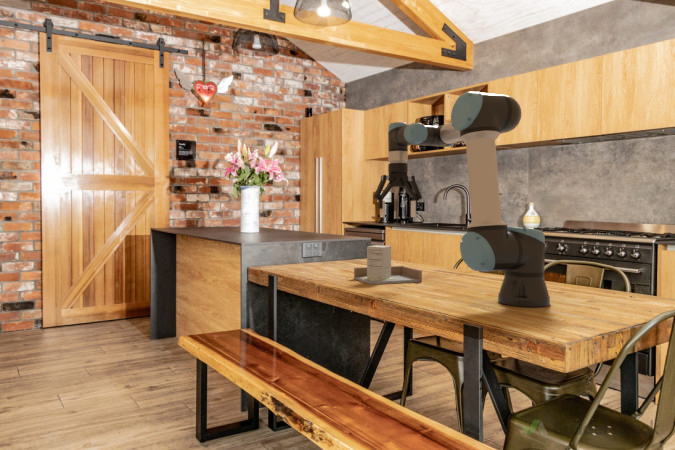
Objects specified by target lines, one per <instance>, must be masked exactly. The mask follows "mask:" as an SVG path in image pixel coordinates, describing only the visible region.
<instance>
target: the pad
mask: <svg viewBox="0 0 675 450" xmlns="http://www.w3.org/2000/svg"><path fill="white" fill-rule="evenodd" d="M362 278H365V279H368V280H371V281H376V280H382V279H370V278H367V277H362ZM383 280H395V279H394V278H386V279H383Z"/></svg>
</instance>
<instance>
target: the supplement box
mask: <svg viewBox="0 0 675 450" xmlns="http://www.w3.org/2000/svg"><path fill="white" fill-rule="evenodd" d="M391 266H392V246H391V245H369V246H366V267H367V278H370V279H382V280H383V279H386V278H390V277H391Z"/></svg>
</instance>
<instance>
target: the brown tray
mask: <svg viewBox="0 0 675 450" xmlns="http://www.w3.org/2000/svg"><path fill="white" fill-rule="evenodd" d="M422 276H423V272H422V270H421V269H417V268H413V267H409V266H405V265H393V266H392V265H391V277H390V278H394V279H395V280H376V281H371V280H368V279H365V278H362V277H367V266H366V267H365V266H364V267H353V279H354V280H355V279H356V280H355V281H359V282H362V283H364V284H367V285H370V286H373V285H388V284H392V283H393V284H409V283H422V282H423V277H422Z"/></svg>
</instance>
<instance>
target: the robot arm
mask: <svg viewBox="0 0 675 450" xmlns="http://www.w3.org/2000/svg"><path fill="white" fill-rule="evenodd" d="M521 118H522V108H521V105H520V104H519V103H518V101H517V100H516V99H515V98H513V97H511V96H510V95H508V94H506V95H505V94H496V93H488V92H480V91H466V92H464V93H462V94H460V95H459V96H458V97H457V98H456V100H455V102H454V104H453V106H452V109H451V114H450V121H451V122H447V123H445V124H442V125H425V124H423V123H421V122H413V123H410V124H408V123H406V122H404V121H403V122H402V121H397V122H392V123H391V122H390V123H389V125H388V132H387V141H388V142H387V143H388V145H387V147H388V148H387V149H388V153H387V154H388V156H387V157H388V175H386V174H381V176H380V182H379V184H378V186H377V189H376V190H375V192H374V195H373V199H375V200H376V201H377V208H378V209H379V218H386V200H385V198H386V197H387V195H388V194H389V192H391V190H392V189H393V188H395V187H397V188H398V187H399V188H403V189H404V190H405V193H407V195H408V196H409V198H411V200H410V218H417V217H416V215H417V209H418V202H419V201H420V200H422V199H423V196H422V194H421V190H420V188H419V187H418V185H417V182H416V177H415V175H413V174H412V175H409V176H408V171H409V169H408V168H409V167H408V165H409V164H408V163H407V162H409V159H408V158H409V157H408V155H409V154H408V152H409V151H408V150H409V149H408V148H409V146H425V147H426V146H429V147H442V148H447V147H449V148H450V147H453V146H454V145H455V144H456V143H460V142H461V141H462V142H463V143H464V144H465V146H466V162H467V163H466V164H467V173H468V174H467V175H468V176H467V178H468V189H469V204H470V205H469V206H470V217H471V222H470V223H469V224H468V226H466V231H467V232H466V233H465V234H463V236H462V237H461V241H459V251H460V256H461V259H462V260H463V262H464V264H465V265H466V266H467V267H468V268H469V269H471V270H472V271H476V272H484V273H485V272H486V273H489V272H495V271H496V272H497V271H498V272H499V271H504V272H503V273H504V274H503V275H504V277H503V280H502V283H501V286H500V289H499V292H498V294H497V301H498V303H500V304H503V305H508V306H512V307H513V306H515V307H524V308H527V307H528V308H538V307H547V306H550V305H551V303H550V302H551V297H550V295H549V291H548V288H547V283H546V281H545V262H546V261H545V257H546V256H545V254H546V242H545V241H546V239H545V234H544V232H543V231H542V230H539V229H536V228H535V229H533V228H528V227H517V226H508V224H507V223H506V222H505V221H503V220H502V211H501V201H500V200H501V199H500V186H499V173H498V171H499V170H498V163H497V162H498V160H497V148H496V140H497V139H498V138H499V136H500V135H501V134H504V133H505V134H506V133H509V132H511V131H513V130H514V129H516V128H517V127H518V125H519V124H520V122H521ZM387 181H388V183H387V185H386V182H387ZM408 182H409V183H408ZM409 184H410V185H409ZM385 185H386V187H385ZM383 189H384V190H383Z"/></svg>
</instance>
